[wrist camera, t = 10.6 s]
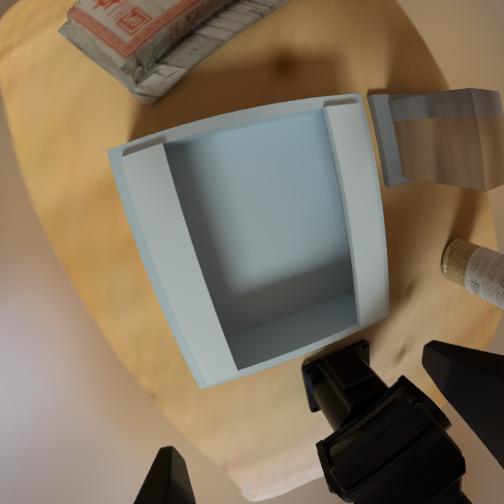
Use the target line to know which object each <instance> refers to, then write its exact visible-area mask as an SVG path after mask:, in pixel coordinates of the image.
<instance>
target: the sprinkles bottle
mask: <svg viewBox="0 0 504 504" xmlns="http://www.w3.org/2000/svg"><path fill="white" fill-rule="evenodd" d="M442 272H443V275H444V277H445V278H446V279H447V280H449V281H454V282H455V283H457V284H459V285H461V286H463V287H465V288H466V289H467V290H469V291H471V292H473V293H475V294H476V295H478V296H480V297H482V298H484V299H485V300H487V301H489V302H491V303H493V304H494V305H496V306H498V307H500V308H502V309H503V310H504V254H501V253H499V252H496V251H494V250H491V249H488V248H486V247H481V246H478V245H475V244H473V243H470V242H468V241H466V240H464V239H462V238H457V239H454V240H453V241H452V242H451V243H450V244H449V245H448V247H447V248H446V250H445V253H444V256H443V259H442Z"/></svg>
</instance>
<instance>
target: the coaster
mask: <svg viewBox="0 0 504 504" xmlns="http://www.w3.org/2000/svg"><path fill="white" fill-rule="evenodd" d="M419 95H425V94H380V95H369V96H367V98H368V102H369V106H370V110H371V115H372V119H373V123H374V128H375V133H376V137H377V142H378V148H379V153H380V158H381V164H382V170H383V176H384V183H385V186H388V187H391V186H394V185H398V184H402V183H405V182H409V181H413V180H415V179H407V178H403V175H402V169H401V163H400V157H399V151H398V146H397V141H396V136H395V131H394V126H393V122H392V117H391V113H390V109H389V105H388V101H393V100H398V99H403V98H408V97H413V96H419Z"/></svg>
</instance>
